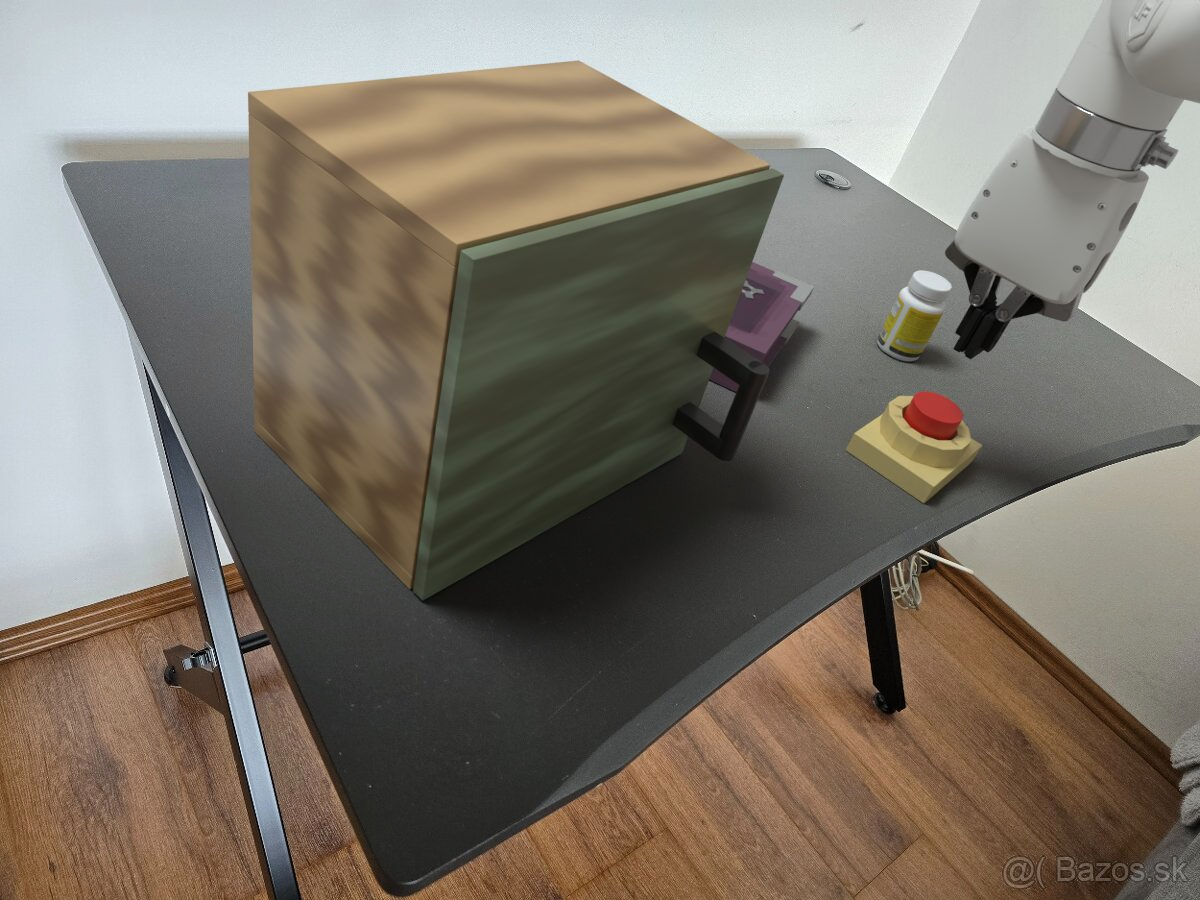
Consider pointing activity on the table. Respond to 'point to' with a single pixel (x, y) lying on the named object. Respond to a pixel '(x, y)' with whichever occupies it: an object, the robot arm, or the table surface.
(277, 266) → the cupboard
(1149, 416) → the table surface
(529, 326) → the door
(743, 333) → the book
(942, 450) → the button block
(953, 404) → the button
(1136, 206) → the robot arm
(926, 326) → the supplement bottle
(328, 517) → the table surface
